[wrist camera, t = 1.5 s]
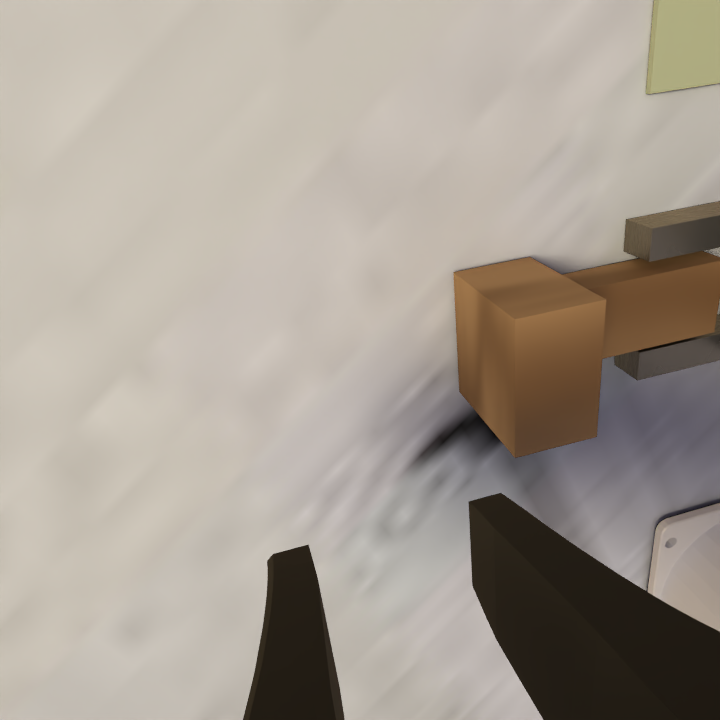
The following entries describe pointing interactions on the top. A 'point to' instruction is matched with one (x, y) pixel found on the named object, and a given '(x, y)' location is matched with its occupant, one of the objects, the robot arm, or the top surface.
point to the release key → (568, 337)
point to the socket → (666, 240)
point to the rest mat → (684, 45)
